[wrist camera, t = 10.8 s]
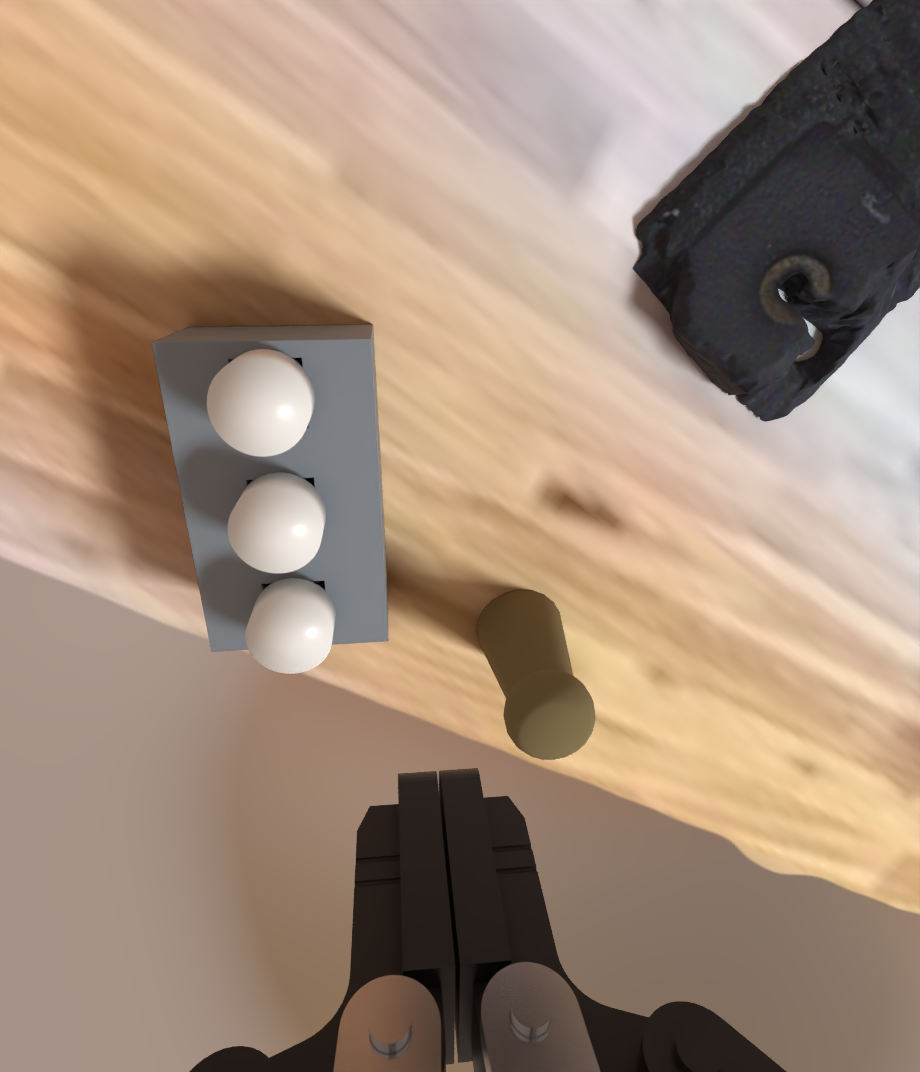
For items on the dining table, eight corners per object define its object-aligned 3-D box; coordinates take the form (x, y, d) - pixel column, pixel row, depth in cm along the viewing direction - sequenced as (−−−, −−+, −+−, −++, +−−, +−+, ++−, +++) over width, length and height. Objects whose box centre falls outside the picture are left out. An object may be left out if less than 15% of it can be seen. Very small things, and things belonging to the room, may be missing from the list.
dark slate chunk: (1058, 168, 37) (1146, 158, 33) (747, 437, 42) (788, 459, 38) (944, -92, 32) (1033, -145, 27) (601, 253, 36) (630, 254, 32)
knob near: (239, 333, 35) (198, 358, 27) (321, 331, 36) (304, 356, 28) (250, 413, 37) (215, 458, 29) (328, 411, 37) (313, 454, 30)
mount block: (187, 327, 35) (151, 342, 30) (372, 324, 36) (370, 338, 31) (233, 599, 42) (211, 651, 37) (387, 590, 43) (388, 641, 38)
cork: (571, 644, 47) (622, 754, 37) (493, 674, 47) (522, 791, 37) (546, 577, 44) (593, 674, 34) (463, 608, 44) (486, 714, 34)
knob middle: (254, 440, 38) (220, 491, 30) (331, 438, 38) (317, 487, 30) (264, 510, 39) (234, 575, 32) (337, 507, 40) (325, 571, 32)
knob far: (267, 534, 40) (239, 604, 32) (339, 531, 41) (328, 599, 33) (276, 596, 42) (251, 676, 34) (344, 592, 42) (335, 670, 35)
